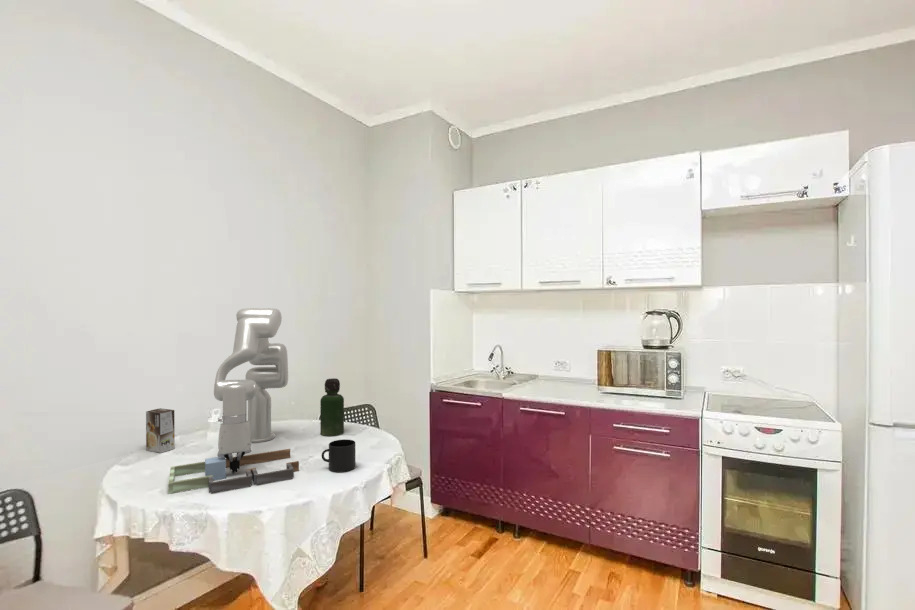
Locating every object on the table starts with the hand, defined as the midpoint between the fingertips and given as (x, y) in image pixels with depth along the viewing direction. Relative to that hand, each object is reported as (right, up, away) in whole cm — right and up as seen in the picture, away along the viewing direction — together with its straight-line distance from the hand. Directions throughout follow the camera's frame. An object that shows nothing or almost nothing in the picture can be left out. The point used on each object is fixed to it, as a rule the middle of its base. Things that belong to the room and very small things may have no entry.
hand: (234, 471), depth 159 cm
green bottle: (+20, -1, +50) cm, 54 cm away
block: (-5, -1, -3) cm, 6 cm away
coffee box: (-44, -1, +27) cm, 51 cm away
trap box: (+2, -1, -3) cm, 3 cm away
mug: (+35, -1, +6) cm, 35 cm away
